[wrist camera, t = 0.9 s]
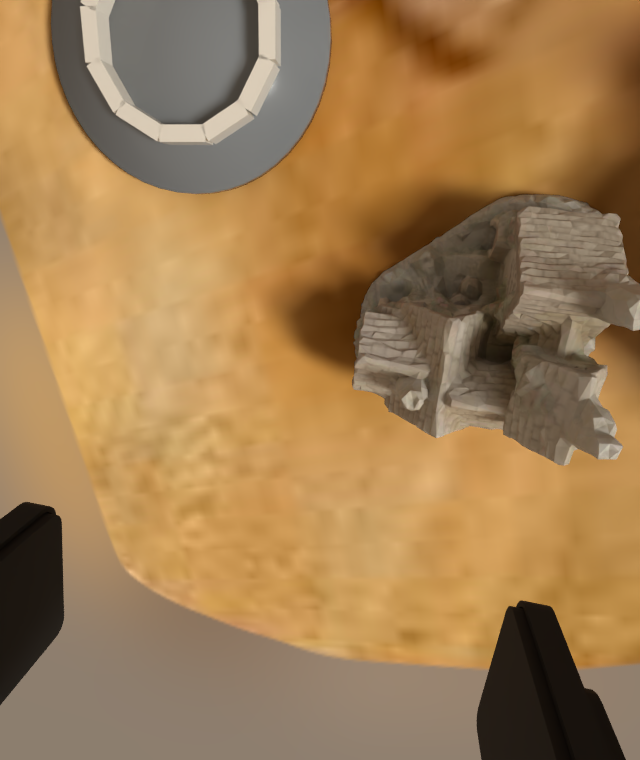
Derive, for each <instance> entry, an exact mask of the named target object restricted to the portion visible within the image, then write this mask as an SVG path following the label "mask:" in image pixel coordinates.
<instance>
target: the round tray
mask: <svg viewBox="0 0 640 760" xmlns="http://www.w3.org/2000/svg"><path fill="white" fill-rule="evenodd" d="M51 30H52V45H53V51H54V57H55V63H56V67H57V71H58V74H59V78H60V82H61V85H62V87H63V90H64V93H65V95H66V98H67V100H68V103H69V105H70V107H71V108H72V110H73V112H74V114H75V116H76V118H77V120H78V122H79V123H80V125H81V126H82V127H83V129H84V130H85V132H86V133H87V135H88V136H89V138H90V139H91V140H92V141H93V142H94V143H95V145H96V146H97V147H98V148H99V149H100V151H102V152H103V153H104V154H105V155H106V156H107V157H108V158H109V159H110V160H111V161H112V162H113V163H115V164H116V165H117V166H119V167H120V168H121V169H123V170H124V171H126V172H127V173H128V174H130V175H132V176H134V177H136V178H137V179H139V180H141V181H143V182H145V183H148V184H150V185H153V186H156V187H158V188H161V189H166V190H170V191H174V192H180V193H191V194H210V193H219V192H224V191H228V190H232V189H235V188H238V187H241V186H244V185H246V184H248V183H250V182H252V181H254V180H256V179H258V178H260V177H262V176H263V175H264V174H266V173H267V172H269V171H270V170H271V169H273V168H274V167H276V166H277V165H278V164H279V163H280V162H281V161H282V160H283V159H284V158H285V157H286V156H287V155H288V154H289V153H290V152H291V151H292V150H293V148H294V147H295V146H296V145H297V143H298V142H299V141H300V140H301V138H302V137H303V135H304V133H305V132H306V130H307V129H308V127H309V125H310V124H311V122H312V120H313V118H314V115H315V113H316V111H317V109H318V107H319V104H320V101H321V98H322V95H323V92H324V89H325V86H326V82H327V76H328V71H329V66H330V57H331V45H332V37H331V18H330V11H329V4H328V0H52V13H51Z"/></svg>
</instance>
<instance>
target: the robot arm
mask: <svg viewBox="0 0 640 760" xmlns="http://www.w3.org/2000/svg"><path fill="white" fill-rule="evenodd" d="M63 603H64V601H63V559H62V522H61V518H60V516H58V515H56V512H55V510H54V508H52V507H50V506H45V505H40V504H34V503H30V502H24V503H22V504H20V505H19V506H17V507H16V508H15V509H13V510H12V511H11V512H9V513H8V514H7V515H5V516H4V517H3V518H1V519H0V705H1V704H2V702H3V701H4V700H5V699H6V697H7V696H8V695H9V694H10V693H11V691H12V690H13V689H14V688H15V686H16V685H17V684H18V683H19V682H20V680H21V679H22V678H23V676H24V675H25V674H26V673H27V672H28V671H29V669H30V668H31V667H32V666H33V665H34V663H35V662H36V661H37V660H38V658H39V657H40V656H41V655H42V653H43V652H44V651H45V650H46V649H47V647H48V646H49V645H50V644H51V643H52V641H53V640H54V639H55V638H56V636H57V635H58V633H59V631H60V630H61V627H62V624H63V620H64V604H63ZM477 733H478V739H479V745H480V752H481V759H482V760H626V759H625V757H624V754H623V752H622V750H621V747H620V745H619V742H618V740H617V737H616V735H615V733H614V730H613V728H612V726H611V723H610V721H609V718H608V716H607V714H606V711H605V709H604V707H603V704H602V702H601V700H600V698H599V696H598V695H597V694H596V693H595V692H594V691H593V690H591V689H586V688H584V686H583V684H582V681H581V679H580V676H579V673H578V671H577V668H576V666H575V663H574V661H573V658H572V656H571V653H570V651H569V648H568V646H567V643H566V641H565V638H564V635H563V633H562V630H561V628H560V625H559V623H558V620H557V618H556V615H555V613H554V611H553V609H552V607H550V606H547V605H542V604H537V603H532V602H527V601H519V603H518V604H517V606H516V607H512V606H509V607H508V608H507V610H506V613H505V617H504V620H503V624H502V627H501V631H500V634H499V638H498V641H497V645H496V648H495V651H494V655H493V658H492V662H491V665H490V669H489V672H488V676H487V680H486V683H485V686H484V690H483V693H482V697H481V700H480V704H479V707H478V713H477Z"/></svg>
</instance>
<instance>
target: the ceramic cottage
mask: <svg viewBox="0 0 640 760" xmlns="http://www.w3.org/2000/svg"><path fill="white" fill-rule="evenodd" d="M620 220H621V218H620V217H619V216H618V215H617V214H612V213H607V214H602V213H600V212H599V211H597V210H596V209H593V208H591V207H590V206H589V205H588V203H584V202H582V201H578V200H574V199H571V198H568V197H564V196H560V195H540V194H534V195H529V194H526V195H518V196H515V197H514V196H509V197H503V198H500V199H498V200H496V201H495V202H493V203H491V204H490V205H488V206H486V207H484V208H483V209H481V210H479V211H478V212H476V213H474V214H473V215H471V216H469V217H468V218H467V219H466V220H464V221H463V222H461V223H460V224H459V225H457V226H455V227H454V228H452V229H451V230H449V231H447V232H446V233H444V234H443V235H442V236H441V237H436V238H435V239H434V240H433V241H432V242H431V243H430V244H428V245H426V246H424V247H423V248H421V249H420V250H418V251H417V252H415V253H413V254H412V255H410V256H408V257H407V258H405V259H404V260H403V261H400V262H399V263H398V264H396V265H394V266H393V267H391V268H389V269H388V270H386V271H384V272H383V273H382V274H381V275H380V276H379V277H378V278H377V279H376V280H375V281H374V282H373V283H372V284H371V286H370V287H369V289H368V291H367V294H366V295H365V298H364V301H363V303H362V304H361V306H362V309H361V315H360V317H361V318H360V319H359V320H358V321H357V328H356V330H355V333H354V338H355V341H354V342H353V344H354V345H355V354H356V357H357V359H356V361H355V370H354V377H353V380H352V386H353V388H354V390H363V391H368V392H373V393H375V394H378V395H379V396H381V397H383V398H385V405H386V406H387V408H388V410H389V412H393V413H394V414H396V415H398V416H400V417H401V418H403V419H404V420H406V421H408V422H410V423H412V424H413V425H416V426H417V427H418V428H419V429H421V430H422V431H424V432H425V433H427V434H429V435H431V436H433V437H435V438H438V437H441V436H444V435H446V434H449V433H451V432H454V431H458V430H461V429H464V428H465V427H469V426H474V427H480V428H486V429H502V430H503V435H505V436H507V437H509V438H513V439H514V440H516V441H517V442H518V443H520V444H521V445H522V446H524V447H526V448H527V449H529V450H531V451H534V452H536V453H538V454H540V455H542V456H544V457H546V458H548V459H550V460H552V461H553V462H555V463H556V464H558V465H567V464H569V462H570V459H571V456H572V454H573V451H574V450H577V449H580V450H582V451H584V452H586V453H589V454H591V455H593V456H594V457H596V458H597V459H617V457H618V455H619V453H620V451H621V449H622V447H623V446H622V445H621V444H620V443H619V442H618V441H617V440H616V439H615V438H614V436H615V433H616V431H617V428H616V424H615V422H614V420H613V418H612V416H611V414H610V412H609V411H608V410H607V409H605V408H603V407H602V405H601V404H600V402H599V400H598V397H599V394H600V391H601V388H602V386H603V384H604V381H605V379H606V377H607V374H608V373H607V365H598V364H597V363H596V361H595V360H594V359H592V358H590V357H588V356H589V354H590V353H591V352H592V351H594V350H595V337H596V336H597V335H599V334H600V333H601V332H602V331H603V330H604V329H605V328H607V327H609V325H610V324H614V325H617V326H623V327H626V328H628V329H630V330H632V331H635V330H640V284H639V283H637V282H636V281H635V280H633V279H632V278H631V277H630V276H628V273H629V272H628V268H627V267H626V256H625V252H624V247H623V242H622V239H623V235H622V233H621V231H620V229H618V227H619V223H620Z"/></svg>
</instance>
